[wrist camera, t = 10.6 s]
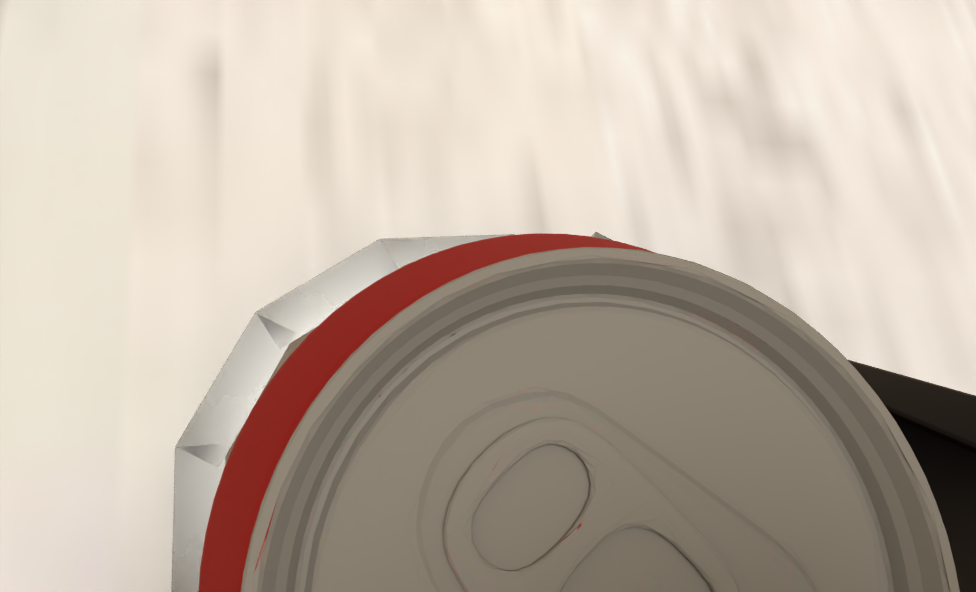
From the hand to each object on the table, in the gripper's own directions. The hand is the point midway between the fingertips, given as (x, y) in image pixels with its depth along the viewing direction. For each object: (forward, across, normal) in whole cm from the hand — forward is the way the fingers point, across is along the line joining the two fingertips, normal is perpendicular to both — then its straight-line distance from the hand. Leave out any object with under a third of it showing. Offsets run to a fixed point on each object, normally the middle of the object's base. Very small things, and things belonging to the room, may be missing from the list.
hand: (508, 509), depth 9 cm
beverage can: (+6, 0, +6) cm, 8 cm away
